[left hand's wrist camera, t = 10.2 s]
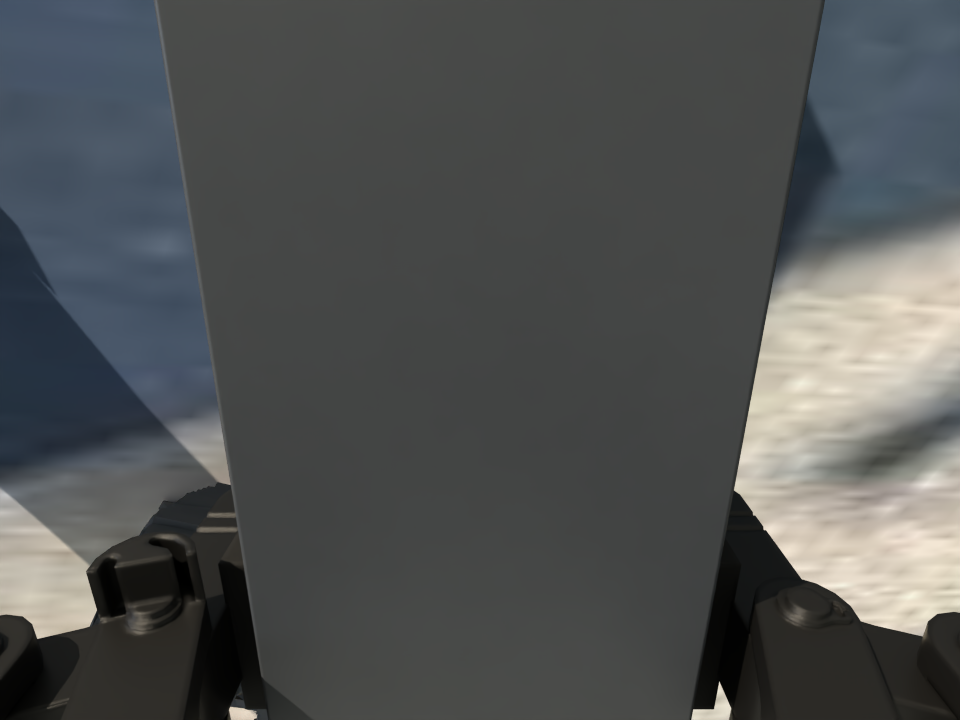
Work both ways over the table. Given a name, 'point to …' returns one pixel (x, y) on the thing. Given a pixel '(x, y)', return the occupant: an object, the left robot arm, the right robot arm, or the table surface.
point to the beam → (484, 332)
